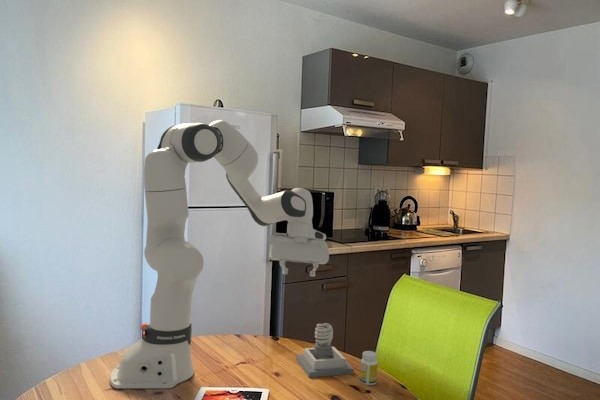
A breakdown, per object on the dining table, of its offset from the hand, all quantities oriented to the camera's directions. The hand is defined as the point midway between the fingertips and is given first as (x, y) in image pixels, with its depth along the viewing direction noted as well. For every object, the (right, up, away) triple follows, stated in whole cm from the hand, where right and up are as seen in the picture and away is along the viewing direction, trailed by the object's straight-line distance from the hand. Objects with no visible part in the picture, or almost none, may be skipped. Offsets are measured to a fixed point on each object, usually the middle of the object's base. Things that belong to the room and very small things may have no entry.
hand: (298, 275), depth 150 cm
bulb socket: (+8, -26, -11) cm, 30 cm away
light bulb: (+7, -25, -11) cm, 28 cm away
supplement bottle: (+20, -28, -20) cm, 40 cm away
